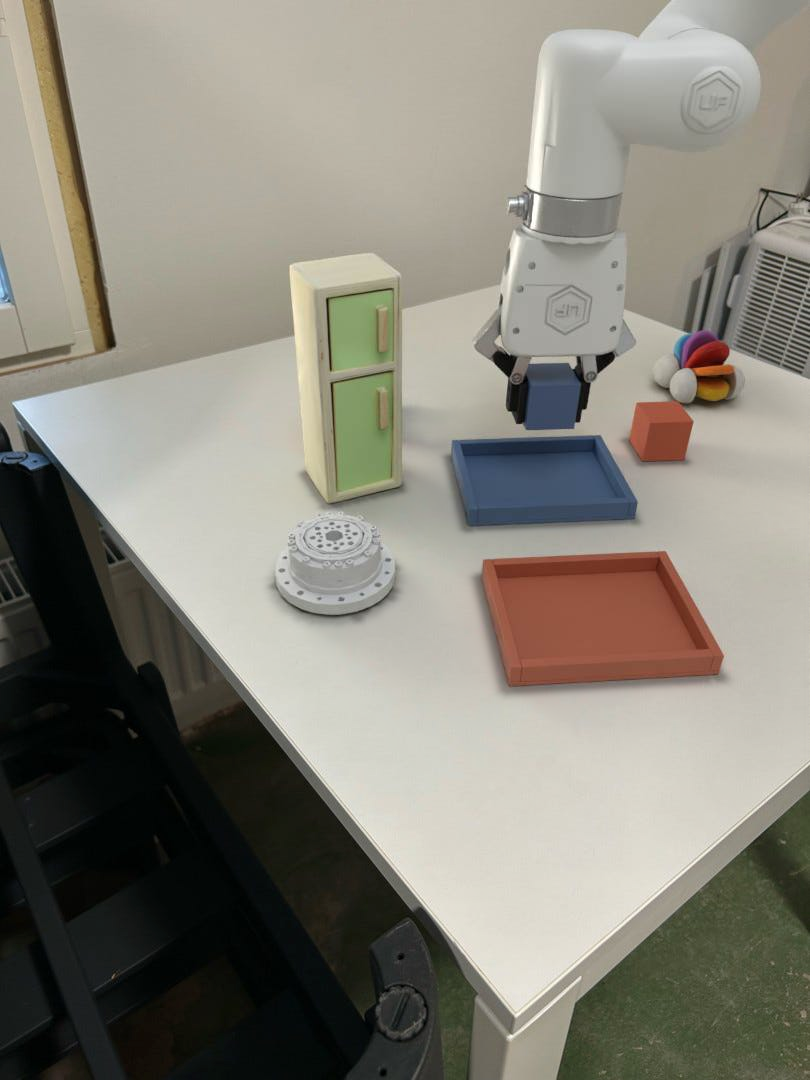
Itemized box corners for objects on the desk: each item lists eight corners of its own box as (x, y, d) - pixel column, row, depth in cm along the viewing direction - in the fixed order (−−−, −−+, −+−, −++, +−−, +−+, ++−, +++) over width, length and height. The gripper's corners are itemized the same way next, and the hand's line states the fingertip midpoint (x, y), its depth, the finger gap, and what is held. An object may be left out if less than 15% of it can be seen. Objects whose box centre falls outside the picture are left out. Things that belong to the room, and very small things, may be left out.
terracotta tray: (661, 568, 71) (665, 550, 70) (718, 674, 61) (724, 655, 59) (481, 576, 70) (482, 558, 68) (508, 686, 59) (511, 667, 58)
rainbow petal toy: (682, 414, 93) (695, 354, 89) (642, 377, 101) (653, 320, 97) (748, 406, 95) (765, 347, 91) (705, 371, 103) (718, 315, 98)
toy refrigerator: (328, 510, 77) (316, 289, 65) (303, 472, 83) (287, 261, 70) (405, 491, 80) (408, 276, 67) (376, 456, 85) (374, 250, 73)
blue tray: (597, 450, 87) (600, 434, 86) (634, 518, 77) (638, 501, 75) (450, 455, 86) (451, 439, 84) (468, 526, 75) (469, 508, 74)
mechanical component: (404, 610, 66) (385, 538, 74) (405, 567, 63) (385, 496, 71) (279, 624, 65) (273, 548, 72) (274, 580, 62) (269, 507, 70)
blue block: (562, 406, 79) (568, 362, 76) (574, 429, 75) (581, 383, 72) (516, 407, 78) (520, 363, 76) (525, 430, 75) (530, 385, 72)
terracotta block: (669, 438, 89) (678, 400, 86) (684, 460, 85) (694, 421, 83) (628, 440, 89) (636, 402, 86) (642, 461, 85) (650, 422, 82)
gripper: (473, 226, 62) (460, 439, 73) (690, 224, 63) (646, 433, 74) (459, 200, 68) (449, 400, 79) (658, 199, 69) (621, 396, 80)
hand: (544, 414), depth 76 cm, fingers closed on blue block, 4 cm apart
